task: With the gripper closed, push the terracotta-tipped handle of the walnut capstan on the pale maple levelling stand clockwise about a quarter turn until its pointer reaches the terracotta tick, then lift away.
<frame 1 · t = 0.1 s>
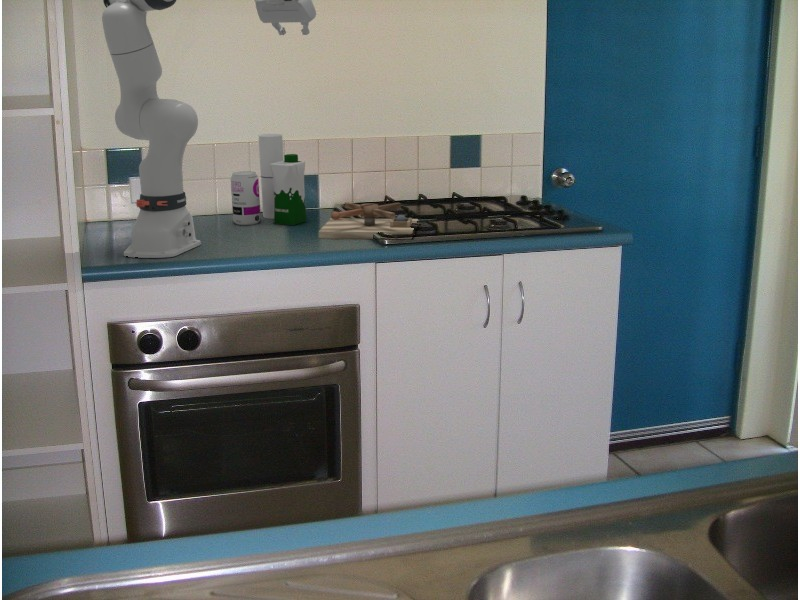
hand: (294, 34, 278), 54 cm above the worktop, tool tilted 30°, fingers open, 8 cm apart
ball: (401, 220, 260), point 3 cm above the worktop, touching stand
stand: (369, 231, 262), on the worktop
supplement can: (247, 223, 276), on the worktop
capstan: (366, 210, 259), point 6 cm above the worktop, hinge at 0.0°
milk carton: (290, 223, 276), on the worktop
cylindrical container: (274, 216, 285), on the worktop
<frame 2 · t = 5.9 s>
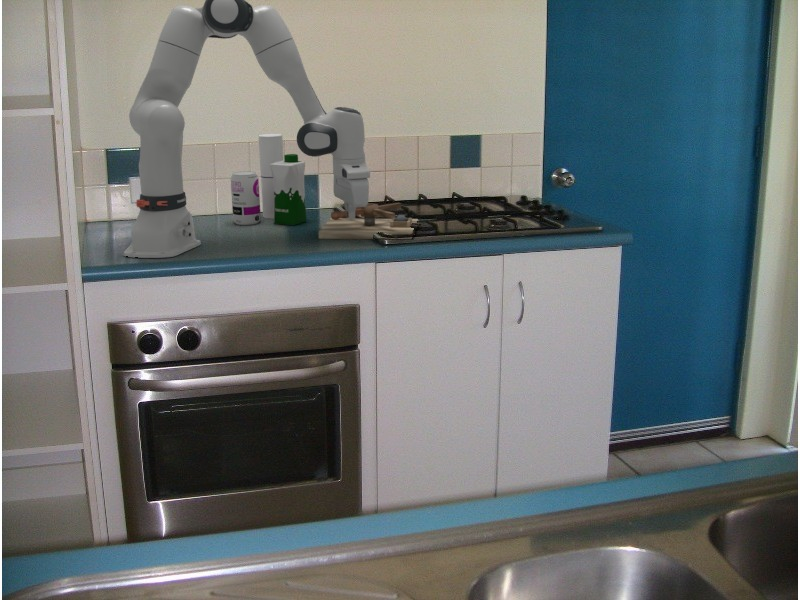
hand: (350, 218, 254), 5 cm above the worktop, tool pointing down, fingers closed
capstan: (366, 210, 259), point 6 cm above the worktop, hinge at -0.4°, touching gripper
everything else where it was.
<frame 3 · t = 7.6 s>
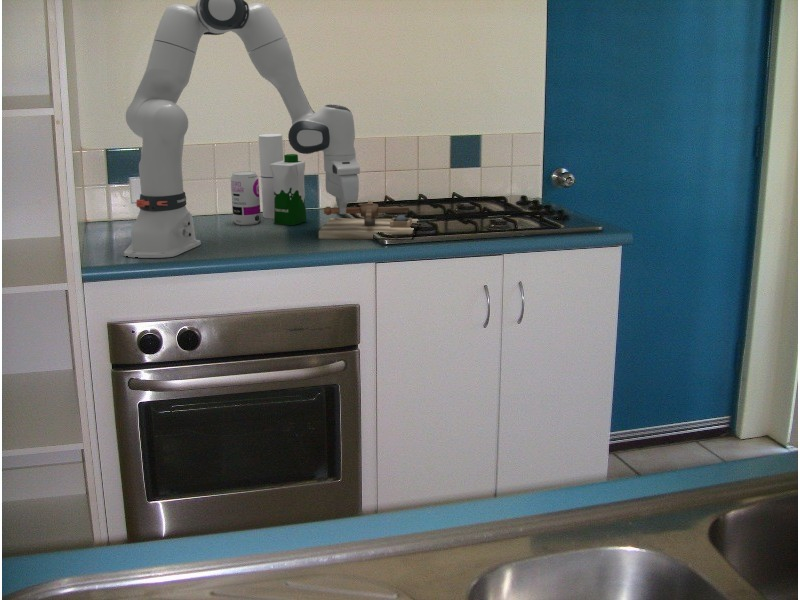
hand: (342, 213, 258), 6 cm above the worktop, tool pointing down, fingers closed
capstan: (366, 209, 260), point 6 cm above the worktop, hinge at -38.3°, touching gripper
everything else where it was.
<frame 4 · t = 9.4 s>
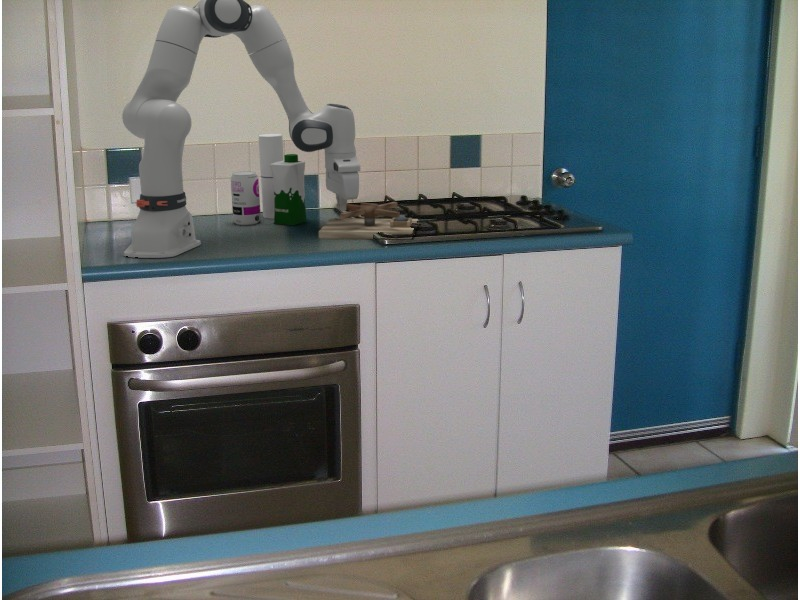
hand: (342, 210, 264), 6 cm above the worktop, tool pointing down, fingers closed
capstan: (366, 209, 260), point 6 cm above the worktop, hinge at -80.8°, touching gripper
everything else where it was.
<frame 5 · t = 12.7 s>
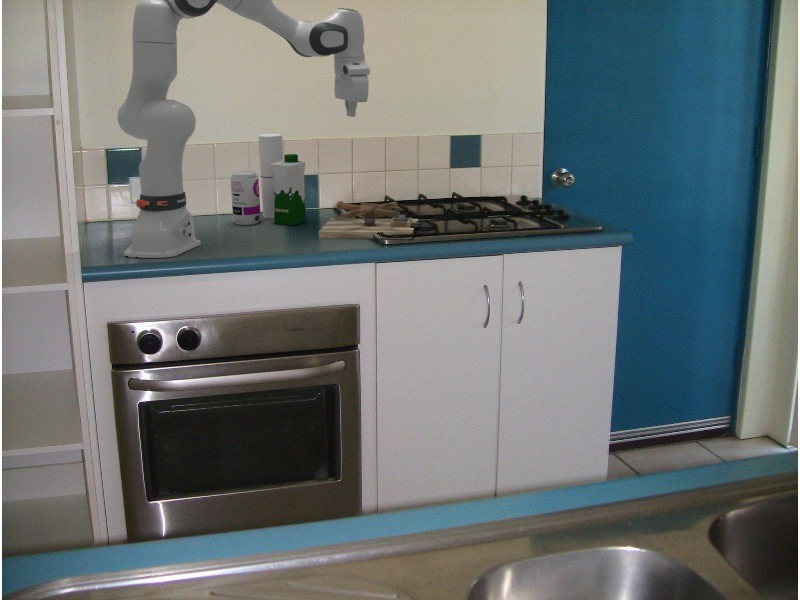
hand: (351, 116, 268), 31 cm above the worktop, tool pointing down, fingers closed
capstan: (366, 209, 260), point 6 cm above the worktop, hinge at -80.8°
everything else where it was.
at the end: capstan at -81° (first picture: +0°); ball 0.0 cm from the target spot on the stand, point 3.5 cm above the stand's base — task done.
